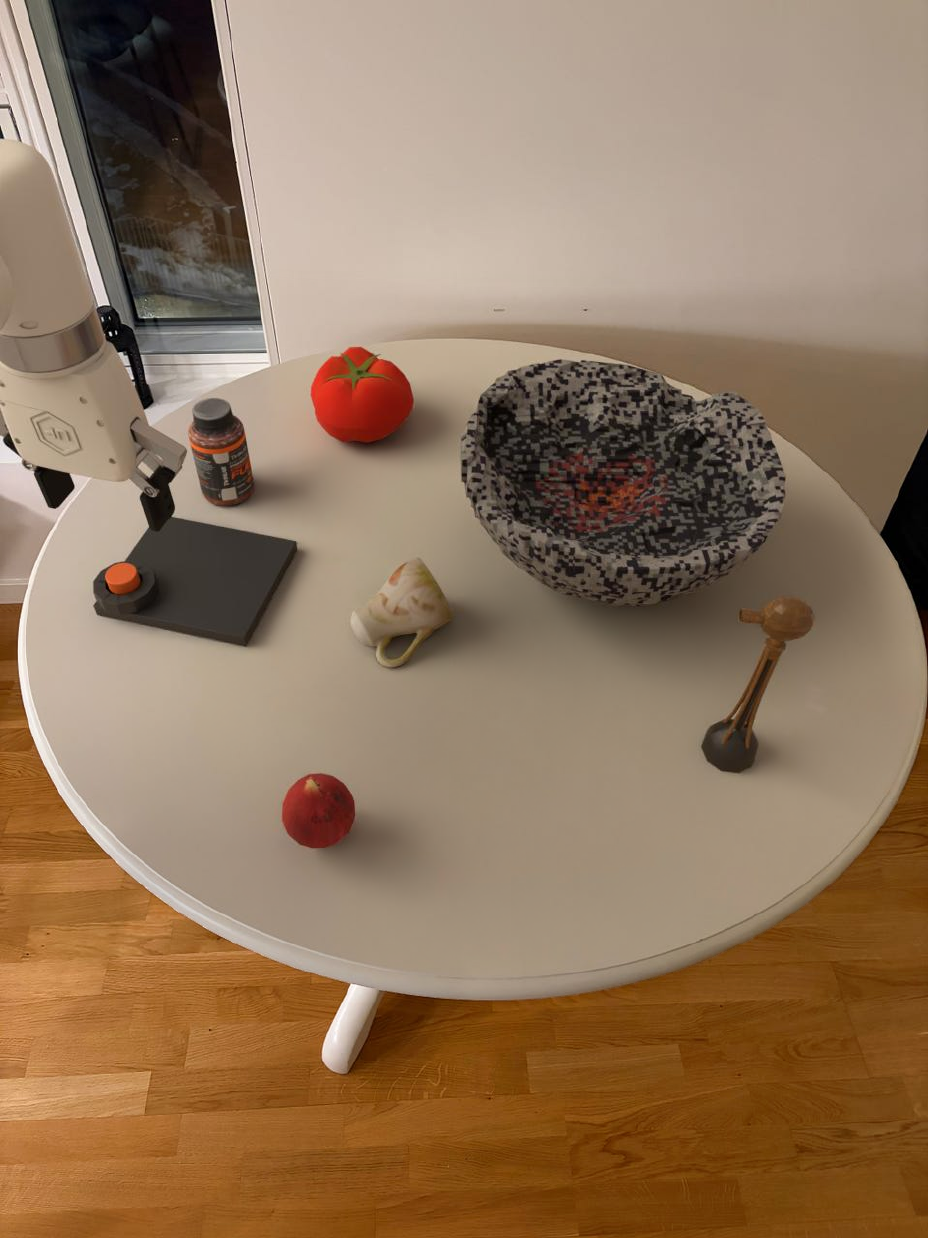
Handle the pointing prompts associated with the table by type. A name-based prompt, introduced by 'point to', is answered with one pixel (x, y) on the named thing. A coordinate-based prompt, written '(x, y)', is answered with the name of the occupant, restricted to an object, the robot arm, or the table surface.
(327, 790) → the onion
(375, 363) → the tomato
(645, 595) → the bowl
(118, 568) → the button
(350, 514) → the table surface
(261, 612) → the scale
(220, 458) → the supplement bottle
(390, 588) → the mug
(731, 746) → the wooden tabletop sculpture
